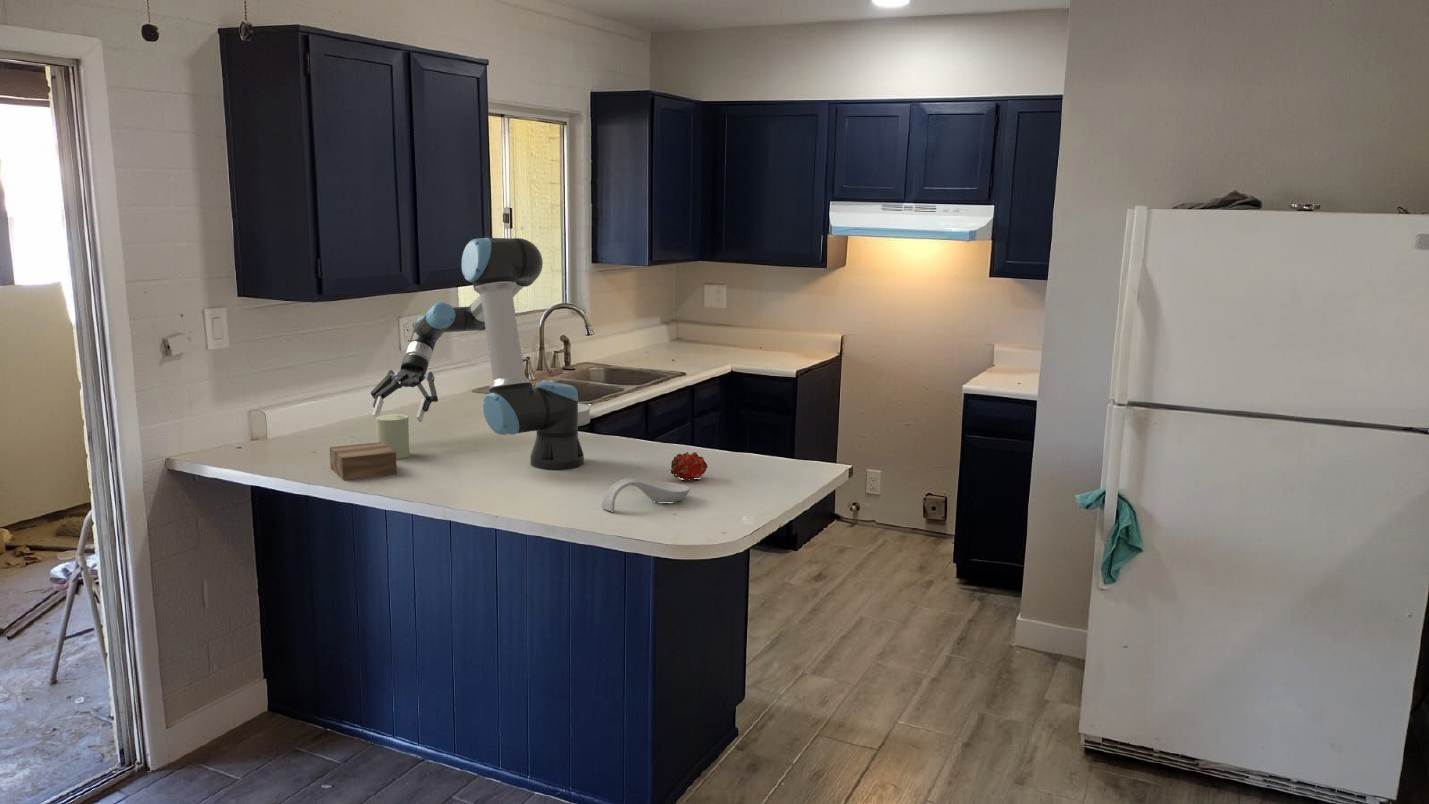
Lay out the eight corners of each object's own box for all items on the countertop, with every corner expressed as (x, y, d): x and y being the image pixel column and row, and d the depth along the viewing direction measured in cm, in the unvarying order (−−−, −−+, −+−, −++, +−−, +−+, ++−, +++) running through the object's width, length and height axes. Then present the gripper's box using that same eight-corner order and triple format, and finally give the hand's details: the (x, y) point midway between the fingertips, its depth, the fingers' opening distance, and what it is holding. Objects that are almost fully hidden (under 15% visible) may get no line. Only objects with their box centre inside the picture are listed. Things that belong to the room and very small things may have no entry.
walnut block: (396, 473, 276) (396, 452, 274) (343, 480, 268) (342, 457, 267) (382, 462, 287) (381, 442, 286) (330, 468, 280) (329, 447, 278)
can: (400, 460, 290) (398, 419, 288) (370, 458, 292) (368, 417, 290) (415, 453, 299) (414, 413, 297) (386, 451, 301) (385, 411, 299)
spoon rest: (670, 492, 265) (671, 465, 263) (699, 502, 256) (699, 475, 255) (593, 507, 250) (593, 478, 249) (620, 518, 241) (621, 489, 240)
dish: (541, 431, 335) (540, 416, 334) (514, 419, 353) (514, 405, 352) (601, 424, 347) (601, 410, 346) (573, 413, 365) (573, 399, 364)
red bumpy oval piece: (666, 488, 274) (702, 488, 281) (683, 475, 268) (719, 476, 275) (660, 459, 277) (695, 460, 284) (676, 446, 271) (712, 447, 278)
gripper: (459, 369, 312) (441, 427, 300) (381, 365, 315) (361, 423, 303) (452, 354, 306) (433, 413, 294) (373, 351, 309) (351, 409, 297)
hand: (396, 418), depth 299 cm, fingers open, 13 cm apart
